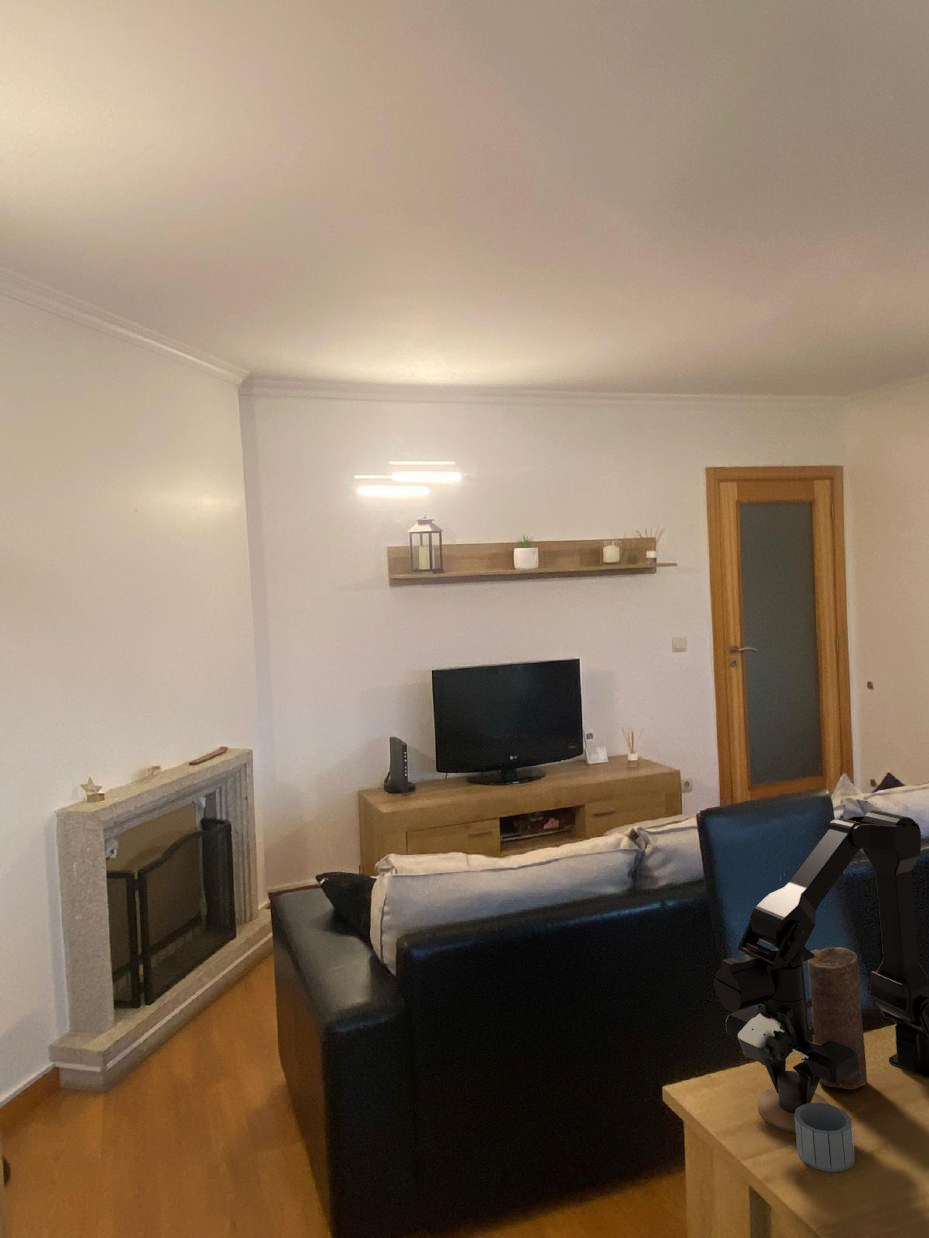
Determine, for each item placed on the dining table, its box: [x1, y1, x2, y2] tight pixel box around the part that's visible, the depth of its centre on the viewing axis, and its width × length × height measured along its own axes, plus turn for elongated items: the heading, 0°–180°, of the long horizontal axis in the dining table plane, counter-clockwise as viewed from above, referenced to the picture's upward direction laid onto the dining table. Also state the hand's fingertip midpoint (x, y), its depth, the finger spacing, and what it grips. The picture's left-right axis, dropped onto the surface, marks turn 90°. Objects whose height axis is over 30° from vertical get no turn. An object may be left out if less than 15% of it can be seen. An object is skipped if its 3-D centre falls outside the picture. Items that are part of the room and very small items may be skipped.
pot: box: [794, 1102, 856, 1173], centre depth 113 cm, size 7×7×5 cm
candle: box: [807, 947, 868, 1090], centre depth 129 cm, size 8×7×20 cm
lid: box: [757, 1070, 830, 1134], centre depth 123 cm, size 10×10×5 cm
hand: (793, 1099), depth 123 cm, fingers closed on lid, 4 cm apart
